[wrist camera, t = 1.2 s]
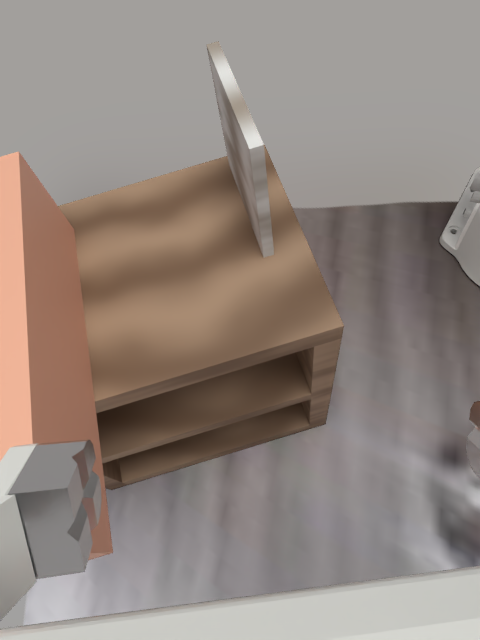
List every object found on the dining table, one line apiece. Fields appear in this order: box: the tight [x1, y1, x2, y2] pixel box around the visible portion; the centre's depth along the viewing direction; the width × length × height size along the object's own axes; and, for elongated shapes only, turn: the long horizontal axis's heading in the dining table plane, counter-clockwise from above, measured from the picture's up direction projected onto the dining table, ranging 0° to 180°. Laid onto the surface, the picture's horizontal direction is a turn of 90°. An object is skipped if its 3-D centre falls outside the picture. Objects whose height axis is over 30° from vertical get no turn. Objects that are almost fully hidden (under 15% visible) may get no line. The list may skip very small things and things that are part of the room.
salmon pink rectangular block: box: [0, 152, 113, 560], centre depth 27 cm, size 24×4×8 cm, turn 15°
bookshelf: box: [58, 42, 344, 490], centre depth 40 cm, size 18×26×36 cm
